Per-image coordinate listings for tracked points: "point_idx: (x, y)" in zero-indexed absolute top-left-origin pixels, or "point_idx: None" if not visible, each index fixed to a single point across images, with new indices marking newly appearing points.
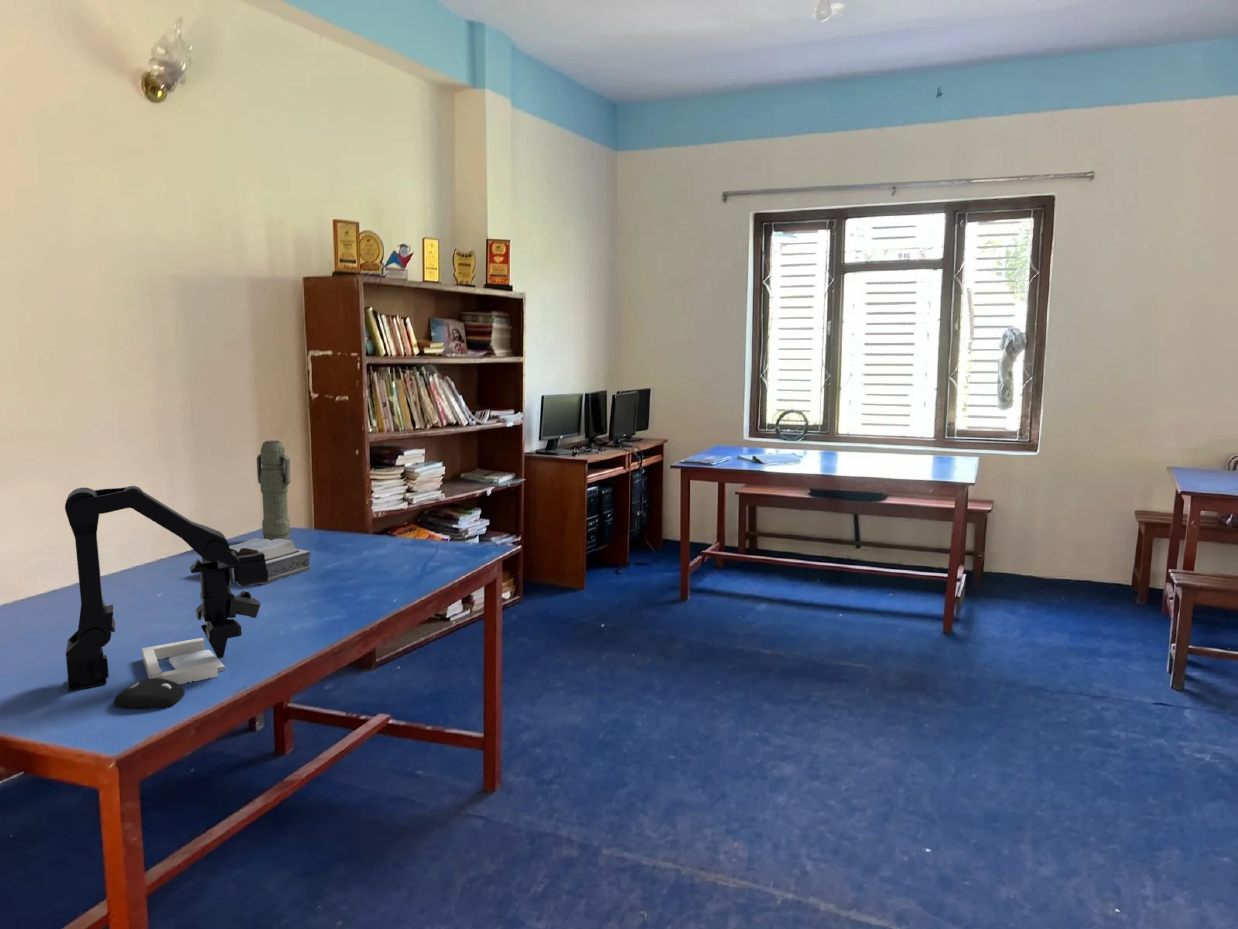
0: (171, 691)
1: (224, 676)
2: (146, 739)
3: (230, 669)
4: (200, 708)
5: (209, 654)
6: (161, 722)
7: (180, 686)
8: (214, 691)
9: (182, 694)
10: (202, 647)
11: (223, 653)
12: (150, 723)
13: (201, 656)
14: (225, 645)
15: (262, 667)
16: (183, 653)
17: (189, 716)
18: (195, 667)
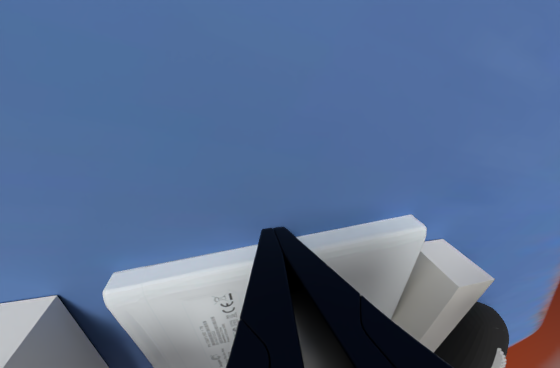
0: (504, 340)
1: (458, 220)
2: (542, 315)
3: (419, 197)
4: (551, 267)
5: (215, 290)
6: (521, 310)
7: (486, 329)
8: (518, 246)
9: (485, 308)
10: (42, 330)
11: (301, 245)
12: (507, 321)
13: (225, 313)
14: (352, 290)
15: (547, 43)
16: (95, 364)
17: (554, 280)
18: (437, 334)
